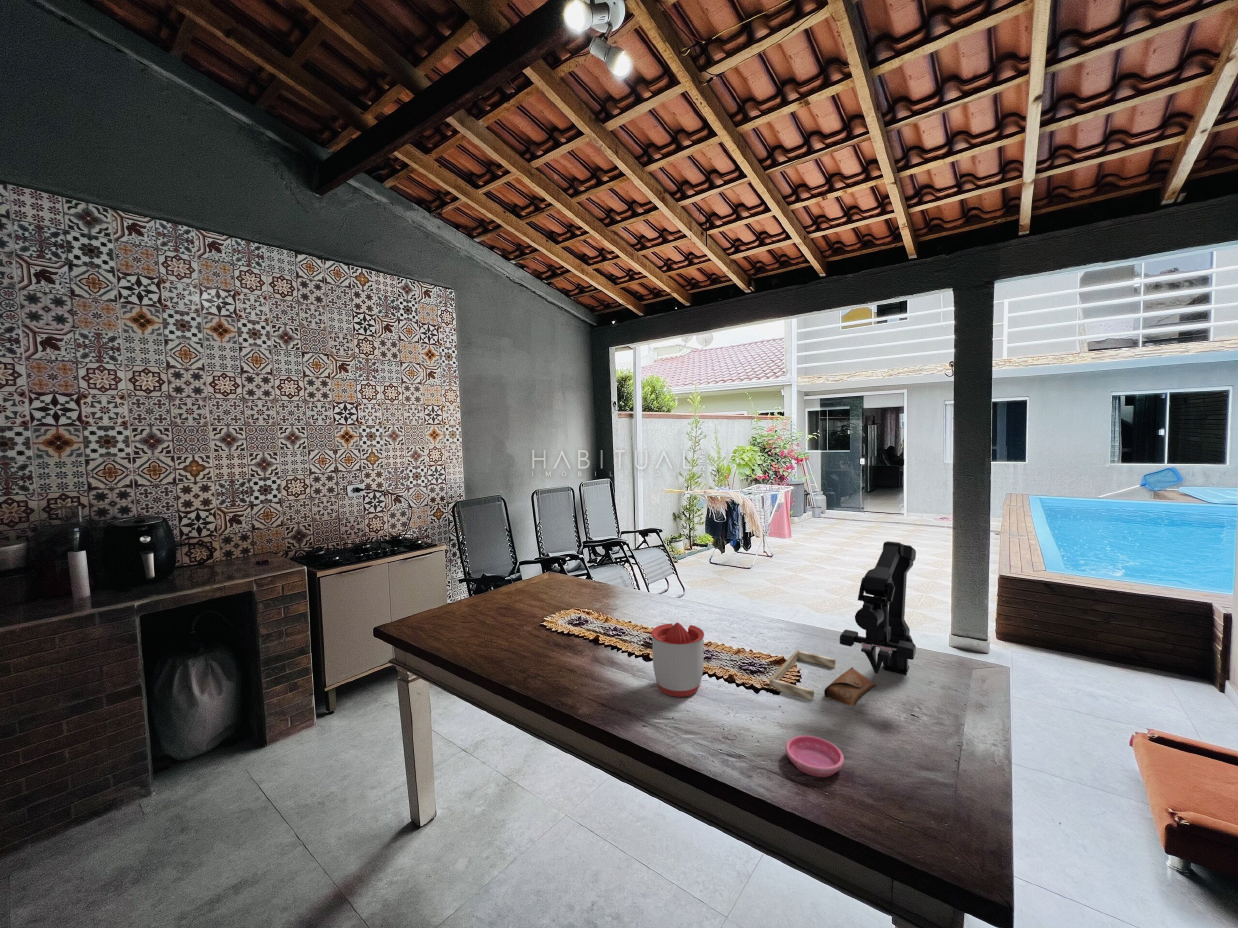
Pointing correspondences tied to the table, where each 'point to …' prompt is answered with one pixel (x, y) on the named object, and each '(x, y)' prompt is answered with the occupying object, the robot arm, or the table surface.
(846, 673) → the sunglasses case
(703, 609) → the table surface
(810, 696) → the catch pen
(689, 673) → the citrus juicer
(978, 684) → the table surface
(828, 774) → the saucer
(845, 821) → the table surface
